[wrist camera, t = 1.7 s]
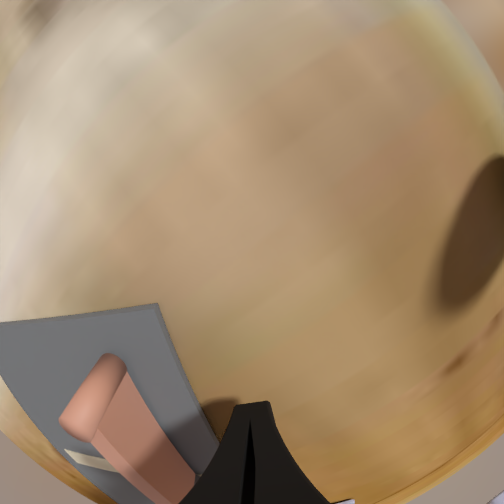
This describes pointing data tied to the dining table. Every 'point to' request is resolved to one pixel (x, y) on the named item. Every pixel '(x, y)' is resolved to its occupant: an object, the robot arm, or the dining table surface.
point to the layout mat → (78, 367)
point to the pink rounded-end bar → (127, 432)
